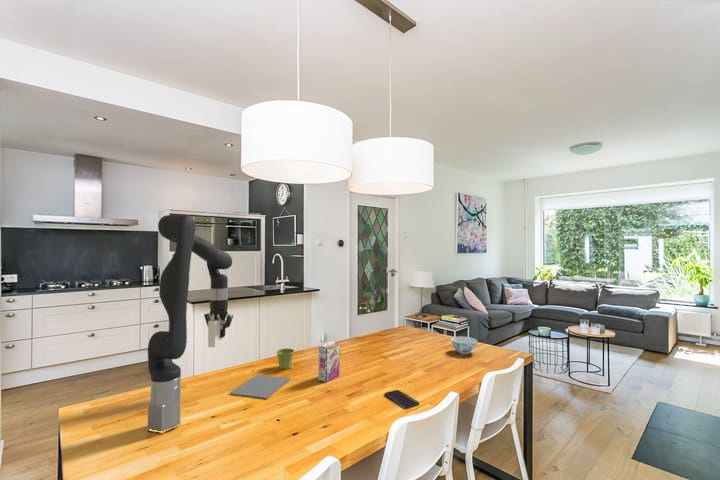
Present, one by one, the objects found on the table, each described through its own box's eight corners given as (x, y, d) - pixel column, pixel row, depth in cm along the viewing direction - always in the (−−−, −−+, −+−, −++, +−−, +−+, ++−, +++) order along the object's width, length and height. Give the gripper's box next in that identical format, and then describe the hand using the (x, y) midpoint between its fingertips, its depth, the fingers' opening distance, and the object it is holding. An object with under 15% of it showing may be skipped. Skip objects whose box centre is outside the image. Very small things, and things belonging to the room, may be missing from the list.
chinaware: (450, 355, 204) (450, 341, 204) (451, 347, 218) (451, 335, 219) (477, 357, 200) (477, 344, 200) (476, 350, 214) (476, 337, 214)
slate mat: (266, 399, 144) (266, 397, 144) (229, 394, 149) (229, 392, 149) (290, 379, 166) (290, 378, 166) (257, 375, 170) (257, 374, 170)
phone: (397, 389, 153) (420, 402, 140) (397, 392, 153) (420, 405, 140) (383, 393, 149) (405, 407, 136) (383, 396, 149) (405, 410, 136)
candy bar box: (326, 383, 162) (326, 347, 162) (318, 380, 164) (318, 346, 165) (340, 375, 171) (340, 342, 172) (331, 373, 174) (332, 340, 174)
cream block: (214, 347, 150) (215, 321, 150) (207, 346, 151) (208, 321, 151) (227, 341, 158) (228, 317, 159) (221, 341, 159) (221, 317, 160)
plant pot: (296, 369, 179) (296, 352, 179) (277, 371, 176) (277, 354, 176) (292, 363, 188) (292, 347, 188) (274, 365, 184) (275, 349, 185)
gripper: (199, 298, 153) (198, 338, 153) (227, 300, 149) (226, 340, 149) (211, 296, 160) (210, 334, 160) (237, 297, 157) (237, 336, 156)
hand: (218, 336), depth 155 cm, fingers closed on cream block, 3 cm apart
